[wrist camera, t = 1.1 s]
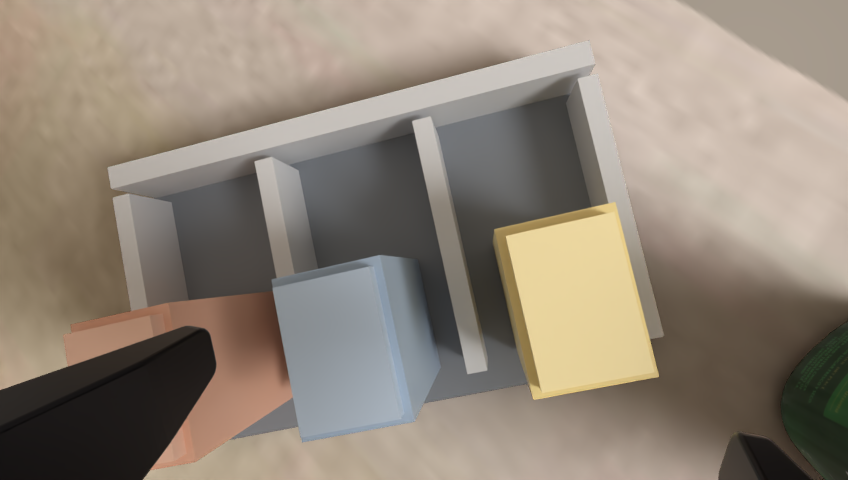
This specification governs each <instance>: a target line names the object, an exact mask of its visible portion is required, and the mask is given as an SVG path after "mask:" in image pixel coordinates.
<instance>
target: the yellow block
mask: <svg viewBox="0 0 848 480" xmlns="http://www.w3.org/2000/svg"><path fill="white" fill-rule="evenodd" d="M493 247H494V251H495V256H496V260H497V265H498V269H499V273H500V278H501V282H502V286H503V291H504V295H505V300H506V304H507V308H508V313H509V317H510V322H511V326H512V330H513V335H514V339H515V343H516V348H517V352H518V355H519V358H520V361H521V364H522V367H523V370H524V373H525V376H526V379H527V382H528V385H529V388H530V391H531V394H532V397H533V400H536V399H541V398H547V397H552V396H558V395H563V394H569V393H574V392H580V391H585V390H590V389H596V388H601V387H607V386H612V385H618V384H623V383H629V382H634V381H639V380H645V379H650V378H656V377H659V374H658V370H657V366H656V362H655V358H654V354H653V350H652V346H651V342H650V338H649V334H648V330H647V326H646V322H645V318H644V314H643V310H642V306H641V302H640V298H639V294H638V290H637V286H636V282H635V278H634V274H633V270H632V266H631V262H630V258H629V254H628V250H627V246H626V242H625V238H624V234H623V230H622V226H621V222H620V218H619V214H618V210H617V206H616V202H613V203H608V204H604V205H599V206H595V207H591V208H586V209H582V210H577V211H573V212H568V213H564V214H560V215H555V216H551V217H546V218H542V219H537V220H533V221H528V222H524V223H520V224H515V225H511V226H506V227H502V228H497V229H494V235H493Z"/></svg>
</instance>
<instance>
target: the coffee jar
mask: <svg viewBox="0 0 848 480" xmlns="http://www.w3.org/2000/svg"><path fill="white" fill-rule="evenodd" d="M781 414H782V420H783V423H784V426H785V429H786V431H787V433H788V435H789V437H790V439H791V440H792V442H793V443H794V444H795V446H796V447H797V448H798V450H799V451H800V452H801V453H802V454H803V456H804V457H805V458H806V459H807V460H808V462H809V463H810V464H811V465H812V466H813V467H814V468H815V469H816V471H817V472H818V473H819V474H820V475H821V476H822V477H823V478H824V479H825V480H848V322H846V323H844V324H843V325H841V326H840V327H838V328H837V329H836V330H834V331H833V332H831V333H830V334H829V335H828V336H827V337H826V338H824V339H823V340H822V341H821V342H820V343H819V344H817V345H816V346H815V347H814V348H813V349H812V350H811V351H810V352H809V353H808V354H807V355H806V356H805V357H804V358H803V360H802V361H801V362H800V363H799V364H798V365H797V367H796V368H795V370H794V371H793V373H792V374H791V376H790V377H789V379H788V381H787V383H786V385H785V387H784V391H783V394H782V401H781Z"/></svg>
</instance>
